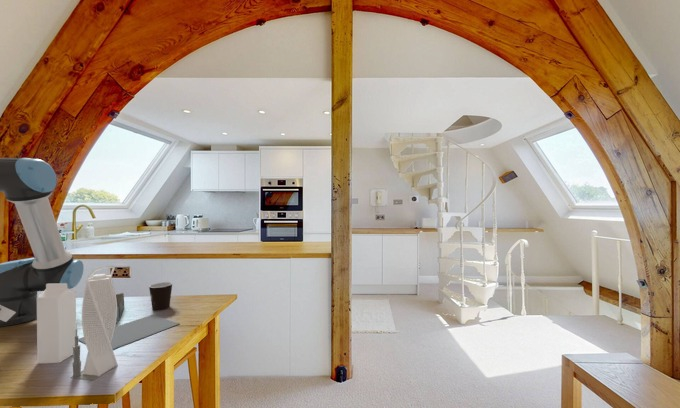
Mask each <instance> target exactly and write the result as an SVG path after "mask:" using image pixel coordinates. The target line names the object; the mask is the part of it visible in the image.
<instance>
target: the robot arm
mask: <svg viewBox="0 0 680 408" xmlns="http://www.w3.org/2000/svg"><path fill="white" fill-rule="evenodd" d="M57 180H58V179H57V175H56V172H55V170H54V168H53V167H52V166H51V165H50V164H49V163H48V162H46V161H45V160H42V159H39V158H29V157H0V193H3V195H4V197H5V200H6V201H8V202H10V203H13V204H14V205H15V209H16V211H17V213H18V216H19V219H20V222H21V224H22V227H23V229H24V232H25V235H26V238H27V240H28V243H29V245H30V248H31V250H32V253H33V256H34V257H30V258H22V259H17V260H16V259H15V260H11V261H5V262H2V263H0V328H1V327H8V326H13V325H19V324H24V323H27V322H29V321H33V320H37V297H38V296H39V295H38V292H43V291H44V290H45V289H46V284H56V283H67V288H68V289H71V290H73V289H74V288H75V287H76V286H78V284H79V283H80V282H81V279H82V277H83V275H84V270H85V269H84V264H83V261H82V260H79V259H74V257H73V254H72V253H71V252H70V251H66V248H65V245H64V243H63V239H62V237H61V233H60V231H59V228H58V224H57V221H56V218H55V216H54V212H53V209H52V206H51V202H50V199H49V198H50V196H52V194H53V191H54V190H55V188H56V187H57Z"/></svg>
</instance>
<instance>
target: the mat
mask: <svg viewBox="0 0 680 408" xmlns="http://www.w3.org/2000/svg"><path fill="white" fill-rule="evenodd" d="M179 325H180V323H179V322H176V321H173V320H170V319H167V318H164V317H161V316H157V315H154V314H151V315H148V316H147V315H146V316H144V317H141V318H138V319H135V320H131V321H129V322H126V323H122V324H120V325H115V329H114V333H113V337H112V340H111V346H112V349H114V350H116V349H118V347H119V348H122V347H124V346H127V345H129V344H132V343H134V342H137V341H140V340H142V339H145V338H147V337H150V336H153V335H155V334H157V333H161V332H163V331H167V330H169V329H170V328H174V327H177V326H179ZM78 342H80V343H82V344H85V345H86V342H85V338H84V336H83V337H78ZM121 346H122V347H121ZM115 348H116V349H115Z"/></svg>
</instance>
